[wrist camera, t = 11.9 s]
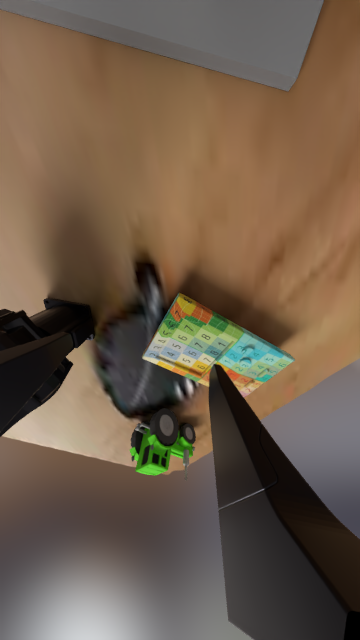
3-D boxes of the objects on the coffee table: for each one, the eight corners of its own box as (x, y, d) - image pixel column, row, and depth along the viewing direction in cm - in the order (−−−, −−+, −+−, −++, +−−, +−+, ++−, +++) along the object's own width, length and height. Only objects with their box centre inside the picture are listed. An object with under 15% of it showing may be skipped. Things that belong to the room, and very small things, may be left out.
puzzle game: (243, 404, 25) (139, 362, 21) (235, 381, 29) (147, 342, 25) (299, 364, 20) (178, 297, 16) (280, 344, 24) (179, 286, 20)
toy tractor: (178, 438, 42) (176, 489, 33) (130, 418, 37) (114, 472, 29) (202, 424, 38) (208, 479, 29) (152, 400, 33) (141, 457, 24)
